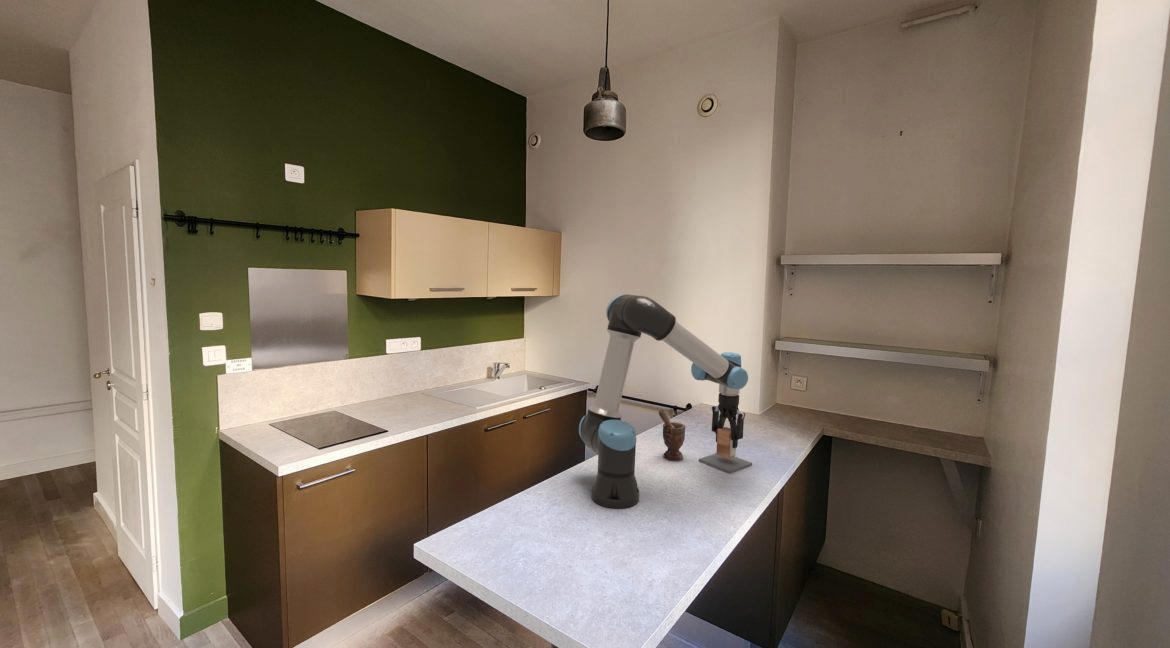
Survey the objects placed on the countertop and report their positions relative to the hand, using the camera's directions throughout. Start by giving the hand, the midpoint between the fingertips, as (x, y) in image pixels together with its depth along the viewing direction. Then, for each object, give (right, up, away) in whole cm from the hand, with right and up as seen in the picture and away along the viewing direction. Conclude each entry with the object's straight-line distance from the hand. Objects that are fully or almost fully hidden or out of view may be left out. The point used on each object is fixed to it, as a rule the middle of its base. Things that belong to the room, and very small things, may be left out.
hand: (725, 453), depth 179 cm
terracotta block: (0, -1, 0) cm, 1 cm away
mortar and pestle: (-20, -3, +4) cm, 21 cm away
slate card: (0, -4, 0) cm, 4 cm away
